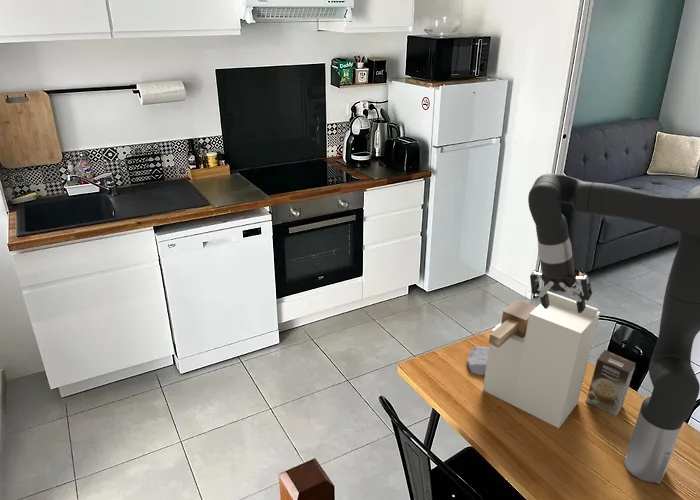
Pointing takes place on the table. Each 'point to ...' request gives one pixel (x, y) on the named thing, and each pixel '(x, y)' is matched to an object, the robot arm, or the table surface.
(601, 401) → the coffee box
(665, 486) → the table surface
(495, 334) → the mallet
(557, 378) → the step stand
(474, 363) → the stone block
